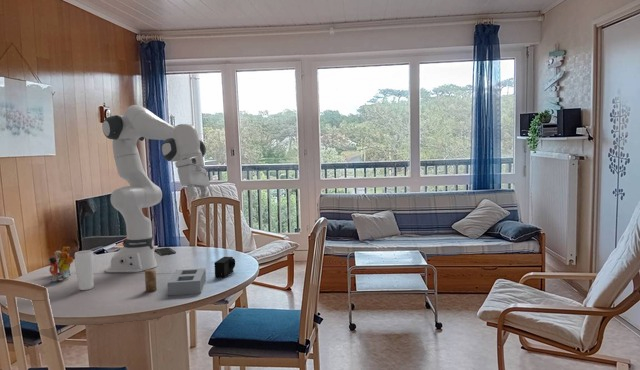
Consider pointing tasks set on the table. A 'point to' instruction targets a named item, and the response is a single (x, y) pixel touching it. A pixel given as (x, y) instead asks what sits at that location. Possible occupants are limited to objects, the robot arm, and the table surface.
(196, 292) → the socket block
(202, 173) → the robot arm
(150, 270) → the walnut dowel
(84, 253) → the drinking glass
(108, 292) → the table surface
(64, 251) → the doll family
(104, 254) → the table surface
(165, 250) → the phone
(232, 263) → the digital camera
